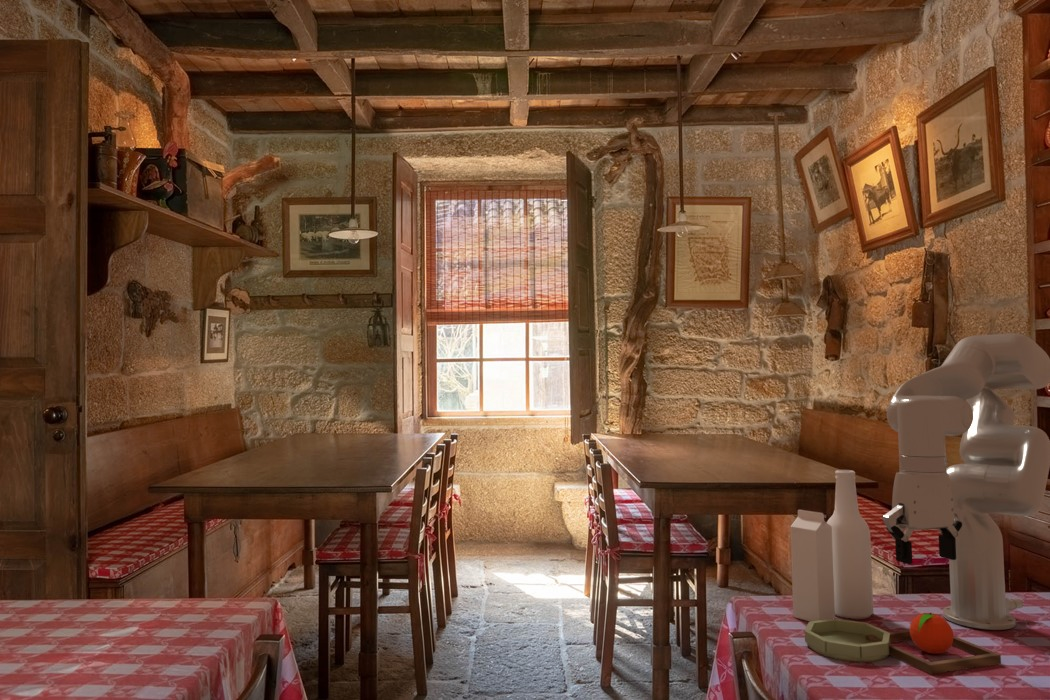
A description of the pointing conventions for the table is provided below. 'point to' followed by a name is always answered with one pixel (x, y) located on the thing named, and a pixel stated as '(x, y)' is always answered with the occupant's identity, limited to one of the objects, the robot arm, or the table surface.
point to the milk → (812, 567)
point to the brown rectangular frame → (981, 659)
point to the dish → (847, 640)
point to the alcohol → (850, 552)
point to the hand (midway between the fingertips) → (926, 560)
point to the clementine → (931, 633)
